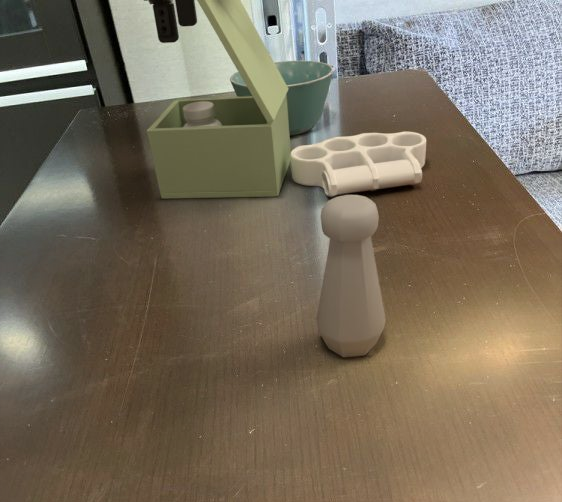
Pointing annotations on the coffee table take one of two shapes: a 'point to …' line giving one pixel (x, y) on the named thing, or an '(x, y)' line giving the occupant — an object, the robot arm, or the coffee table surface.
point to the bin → (221, 151)
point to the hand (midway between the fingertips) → (179, 33)
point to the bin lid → (247, 53)
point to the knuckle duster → (360, 162)
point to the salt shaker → (350, 278)
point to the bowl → (298, 91)
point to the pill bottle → (200, 114)
